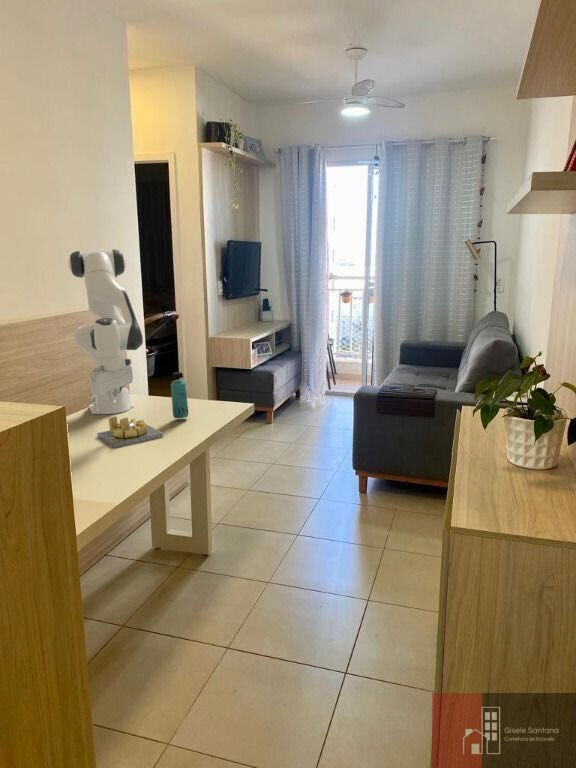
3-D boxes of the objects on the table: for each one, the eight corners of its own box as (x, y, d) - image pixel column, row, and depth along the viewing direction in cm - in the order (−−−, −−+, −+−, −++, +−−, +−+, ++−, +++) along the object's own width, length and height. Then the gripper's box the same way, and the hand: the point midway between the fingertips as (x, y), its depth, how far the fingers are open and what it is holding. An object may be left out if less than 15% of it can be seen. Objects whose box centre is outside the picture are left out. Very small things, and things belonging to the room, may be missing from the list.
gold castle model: (97, 436, 215) (95, 424, 214) (144, 426, 226) (143, 414, 225) (113, 448, 201) (112, 434, 200) (163, 437, 212) (162, 424, 211)
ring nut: (127, 426, 221) (125, 409, 220) (153, 429, 216) (151, 411, 214) (104, 436, 210) (102, 418, 208) (130, 439, 205) (129, 420, 203)
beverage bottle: (170, 421, 232) (166, 373, 228) (178, 417, 238) (174, 370, 234) (184, 422, 230) (180, 374, 225) (192, 418, 236) (188, 371, 232)
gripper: (98, 370, 193) (102, 409, 196) (134, 358, 211) (137, 394, 214) (83, 369, 195) (87, 407, 198) (120, 358, 213) (123, 393, 217)
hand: (114, 400), depth 206 cm, fingers closed
